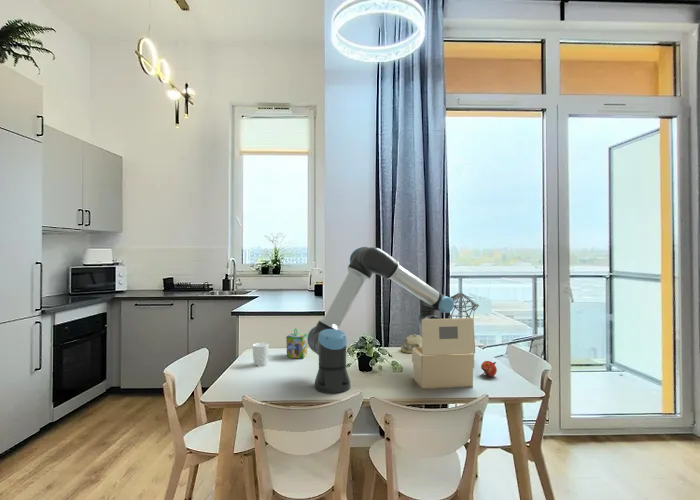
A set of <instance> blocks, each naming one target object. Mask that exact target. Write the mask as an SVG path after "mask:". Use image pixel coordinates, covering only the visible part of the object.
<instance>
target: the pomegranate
mask: <svg viewBox="0 0 700 500" xmlns="http://www.w3.org/2000/svg"><path fill="white" fill-rule="evenodd" d="M496 364H497V362H496V361H495V362H492V361H490V360H485V361H483V362H482V363H481V365H480V368H481V370H482V371H483V373H481V374H480V375H479V377H481V376H483V375H484V374H485V375H486V376H488V377H490V378H493V377H494V376H496V374H497V372H498V369H497V366H496Z"/></svg>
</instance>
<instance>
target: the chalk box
mask: <svg viewBox="0 0 700 500" xmlns="http://www.w3.org/2000/svg"><path fill="white" fill-rule="evenodd" d="M293 331H294V333H289V334H288V335H287V336H286V337H285V338H286V358H287V357H288V358H287V359H302V358H303V359H304V358H305V357H306V356H307V355H306V354H308V353H307V352H308V350H307V349H308V348H307V347H308V346H307V345H308V342H307V336H308V333H298V330H297V328H294V329H293ZM305 355H306V356H305Z"/></svg>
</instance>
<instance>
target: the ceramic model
mask: <svg viewBox="0 0 700 500" xmlns="http://www.w3.org/2000/svg"><path fill="white" fill-rule="evenodd" d="M413 347H422V335H419V334H416V333H413V334H412V335H408V336H407V337H405V339H404V345H401V346H400V351H401V352H402V353H406V354H412V348H413Z"/></svg>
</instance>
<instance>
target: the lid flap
mask: <svg viewBox="0 0 700 500" xmlns="http://www.w3.org/2000/svg"><path fill="white" fill-rule="evenodd" d="M474 319H475V318H473V317H471V318H468V317H467V318H466V317H463V318H461V317H460V318H459V317H457V318H456V317H455V318H454V317H453V318H452V319H450V318H449V319H448V318H440V319H422V326H421V338H422V354H423V355H437V354H468V353H474V354H476V347H475V348H474V338H475V323H474V322H475V321H474Z"/></svg>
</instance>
